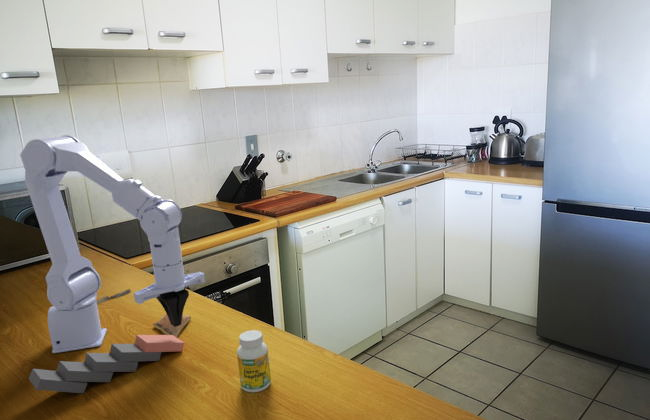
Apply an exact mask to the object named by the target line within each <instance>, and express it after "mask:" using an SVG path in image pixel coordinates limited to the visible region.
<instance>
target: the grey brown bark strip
mask: <svg viewBox="0 0 650 420" xmlns="http://www.w3.org/2000/svg"><path fill="white" fill-rule="evenodd" d="M130 293H131V289H130V288H128V289H125V290H124V291H121V292H119V293H115V294H113V295H111V296H107V295H105V296H104V297H100V298H99V299H96V302H97V306H99V305H101V304H102V303H104V302H108V301H110V300H114V299H117V298H120V297H123V296H125V295H128V294H130Z"/></svg>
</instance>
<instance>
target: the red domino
mask: <svg viewBox="0 0 650 420" xmlns="http://www.w3.org/2000/svg"><path fill="white" fill-rule="evenodd" d="M134 344H135V345H137V346H138V347H139V348H140V349H142V350H143V351H144V352H161V353H167V352H168V353H169V352H171V353H173V352H183V349H184V346H185V342H184V341H182V340H181V339H179V338H178V337H177V338H176V337H175V336H173V335H165V334H136V336H135V340H134Z"/></svg>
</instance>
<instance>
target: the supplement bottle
mask: <svg viewBox="0 0 650 420" xmlns="http://www.w3.org/2000/svg"><path fill="white" fill-rule="evenodd" d="M238 339H239V340H238V341H239V346H238V348H237V351H236V356H237V357H236V358H237V362H238V363H237V364H238V365H237V366H238V373H239V381H240V383H239V384H240V387H241V389H242V390H243V391H244V392H247V393H259V392H262V391H264V390H266V389H268V387H269V386H270V385H271V383H272V380H271V378H272V377H271V368H270V367H271V366H270V357H269V348H268V345H267V344H266V343H265V342H264V338H263V332H262V331H260V330H257V329H256V330H255V329H254V330H253V329H252V330H247V331H243V332H242V333H240V335H239V337H238Z"/></svg>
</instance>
